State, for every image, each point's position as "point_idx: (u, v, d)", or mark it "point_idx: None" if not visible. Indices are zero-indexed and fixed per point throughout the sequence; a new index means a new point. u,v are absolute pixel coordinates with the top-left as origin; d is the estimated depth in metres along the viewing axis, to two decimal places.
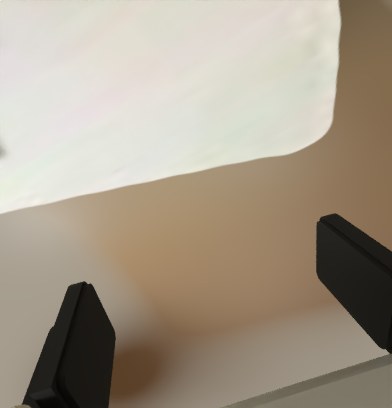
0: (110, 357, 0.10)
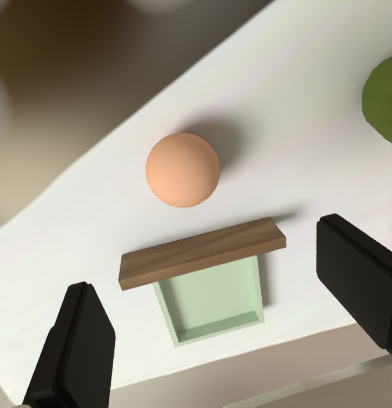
0: (110, 357, 0.10)
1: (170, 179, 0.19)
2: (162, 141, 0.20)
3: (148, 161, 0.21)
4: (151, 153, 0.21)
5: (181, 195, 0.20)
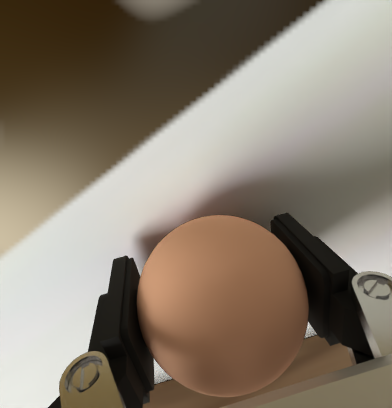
0: None
1: (202, 367, 0.07)
2: (176, 248, 0.08)
3: (142, 294, 0.09)
4: (149, 276, 0.08)
5: (226, 394, 0.08)
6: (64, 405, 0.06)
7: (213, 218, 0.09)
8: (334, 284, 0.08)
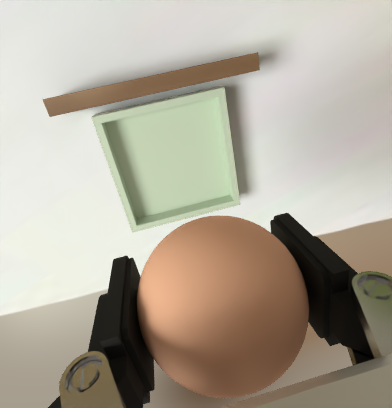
0: None
1: (202, 368, 0.07)
2: (176, 249, 0.08)
3: (142, 295, 0.09)
4: (149, 277, 0.08)
5: (227, 395, 0.08)
6: (64, 405, 0.06)
7: (213, 219, 0.09)
8: (334, 284, 0.08)
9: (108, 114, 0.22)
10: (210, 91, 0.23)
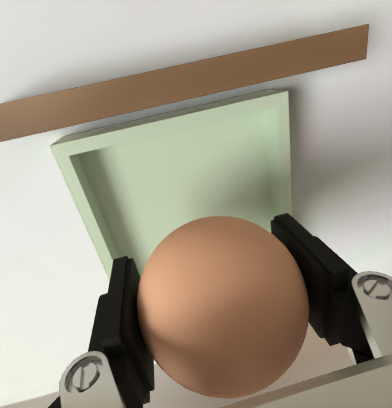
0: None
1: (202, 368, 0.07)
2: (177, 249, 0.08)
3: (142, 295, 0.09)
4: (150, 277, 0.08)
5: (227, 396, 0.08)
6: (64, 405, 0.06)
7: (213, 219, 0.09)
8: (334, 284, 0.08)
9: (81, 140, 0.12)
10: (263, 98, 0.13)
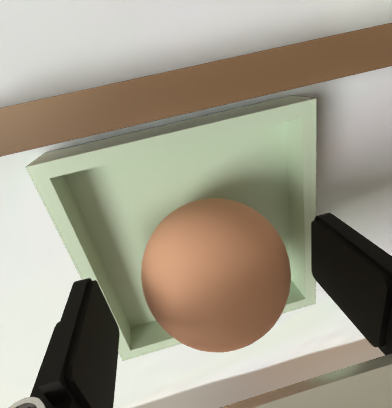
0: (114, 353, 0.10)
1: (202, 321, 0.08)
2: (176, 225, 0.10)
3: (147, 266, 0.10)
4: (153, 250, 0.10)
5: (223, 347, 0.09)
6: None
7: (207, 200, 0.11)
8: None
9: (64, 159, 0.10)
10: (286, 107, 0.10)
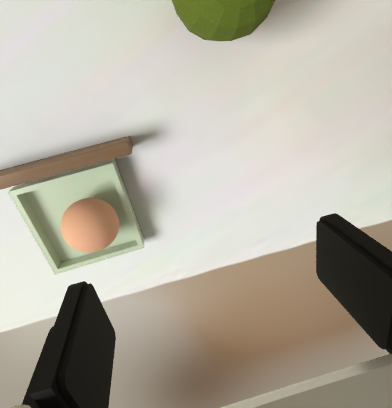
0: (110, 357, 0.10)
1: (85, 233, 0.27)
2: (71, 207, 0.28)
3: (63, 224, 0.28)
4: (64, 218, 0.28)
5: (95, 243, 0.28)
6: None
7: (82, 199, 0.29)
8: None
9: (21, 188, 0.28)
10: (101, 166, 0.29)
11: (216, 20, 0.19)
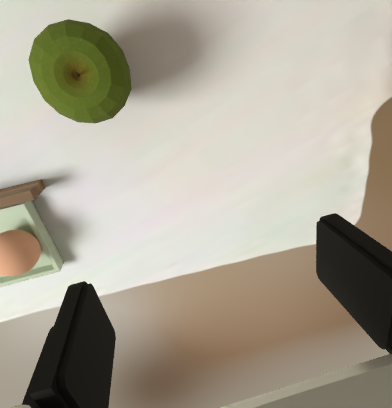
0: (110, 357, 0.10)
1: (11, 260, 0.33)
2: None
3: None
4: None
5: (21, 266, 0.34)
6: None
7: None
8: None
9: None
10: (14, 206, 0.34)
11: (72, 114, 0.24)
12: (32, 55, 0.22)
